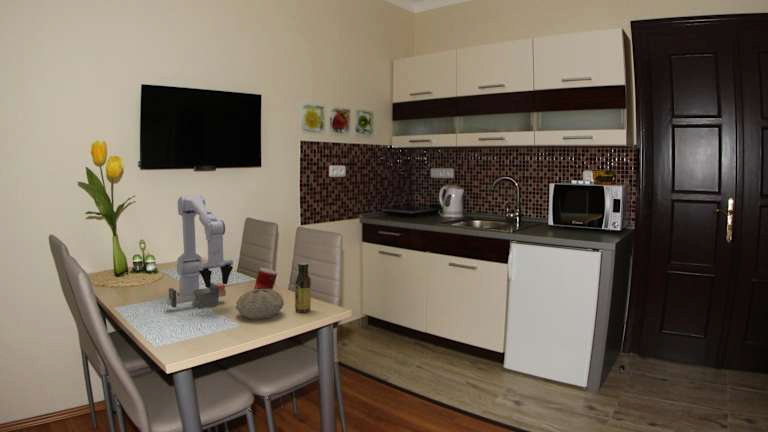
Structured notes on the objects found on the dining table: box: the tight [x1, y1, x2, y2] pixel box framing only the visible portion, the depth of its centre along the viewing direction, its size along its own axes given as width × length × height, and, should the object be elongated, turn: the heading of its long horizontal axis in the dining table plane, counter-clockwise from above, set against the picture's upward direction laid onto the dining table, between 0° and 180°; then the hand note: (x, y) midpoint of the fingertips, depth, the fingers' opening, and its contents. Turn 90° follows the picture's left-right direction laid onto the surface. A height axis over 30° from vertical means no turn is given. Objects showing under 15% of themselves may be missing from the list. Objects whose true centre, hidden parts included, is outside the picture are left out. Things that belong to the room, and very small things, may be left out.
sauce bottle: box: [294, 261, 312, 314], centre depth 193 cm, size 7×6×20 cm
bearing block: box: [192, 281, 220, 310], centre depth 198 cm, size 7×8×8 cm
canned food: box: [253, 267, 278, 291], centre depth 213 cm, size 8×8×11 cm
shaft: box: [165, 287, 227, 308], centre depth 196 cm, size 5×23×6 cm, turn 131°
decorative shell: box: [235, 289, 285, 320], centre depth 187 cm, size 18×18×10 cm
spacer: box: [215, 282, 226, 292], centre depth 202 cm, size 4×3×3 cm
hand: (216, 285), depth 190 cm, fingers open, 7 cm apart
